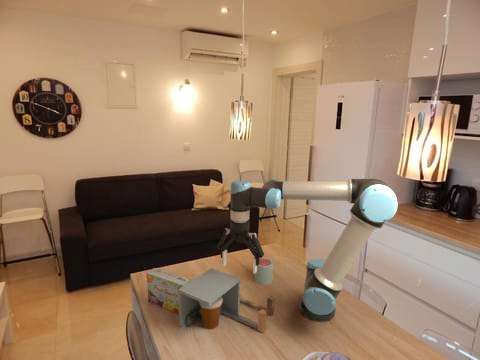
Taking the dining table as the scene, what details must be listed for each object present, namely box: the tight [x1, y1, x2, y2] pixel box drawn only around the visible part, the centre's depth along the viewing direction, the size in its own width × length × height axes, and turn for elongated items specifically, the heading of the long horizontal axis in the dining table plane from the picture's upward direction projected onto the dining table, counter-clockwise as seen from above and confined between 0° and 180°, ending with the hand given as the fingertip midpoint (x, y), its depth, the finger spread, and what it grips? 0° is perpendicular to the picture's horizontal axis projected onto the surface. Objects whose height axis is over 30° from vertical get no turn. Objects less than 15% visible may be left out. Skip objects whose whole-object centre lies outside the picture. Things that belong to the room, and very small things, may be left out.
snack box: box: [146, 267, 193, 315], centre depth 136 cm, size 21×6×15 cm, turn 62°
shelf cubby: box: [178, 267, 241, 329], centre depth 127 cm, size 15×21×17 cm
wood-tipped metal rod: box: [186, 307, 268, 333], centre depth 123 cm, size 27×16×8 cm, turn 57°
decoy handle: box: [240, 294, 276, 318], centre depth 138 cm, size 20×2×8 cm, turn 57°
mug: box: [253, 257, 274, 286], centre depth 162 cm, size 14×9×10 cm
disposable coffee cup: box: [199, 297, 223, 330], centre depth 125 cm, size 10×10×12 cm
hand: (239, 268), depth 128 cm, fingers open, 13 cm apart
